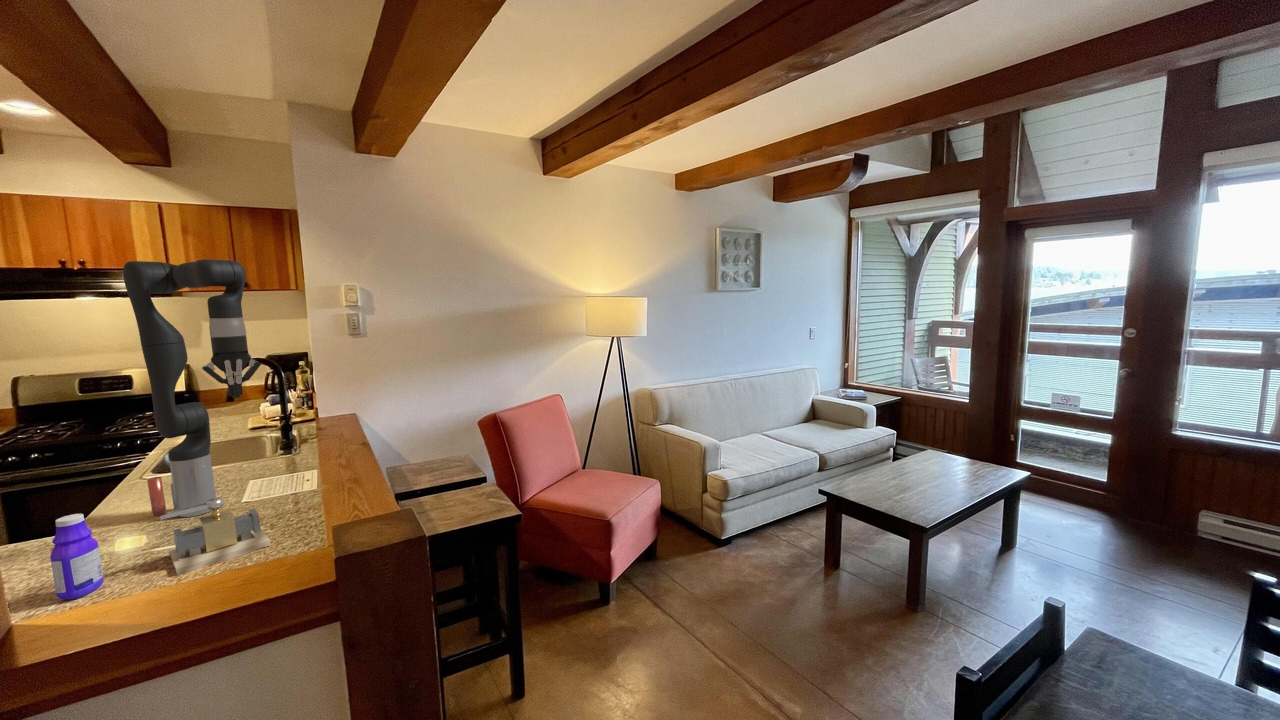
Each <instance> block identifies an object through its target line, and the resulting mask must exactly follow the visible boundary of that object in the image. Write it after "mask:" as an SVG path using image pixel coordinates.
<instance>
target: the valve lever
mask: <svg viewBox="0 0 1280 720" xmlns="http://www.w3.org/2000/svg"><path fill="white" fill-rule="evenodd" d="M146 481H147V488H148V494H149V500H150V506H151V507H150V508H151V513H152V517H153V518H158V517H159V520H161V521H162V520H166V519H170V518H174V517H178V515H183V514H187V513H191V512H195V511H199V510H203V509H208V510H212V509H217V508H220V509H221V508H222V507H224V500H223V497H216V498H214V499H210V500H208V501H206V503H203V504H199V505H195V506H191V507H186V508H182V509H178V510H174V509H173V510H171V511H170V510H169V511H167V505H166V501H165V500H166V499H165V493H164V487H163V478H162V476H153V477H150V478H147V479H146Z"/></svg>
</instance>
